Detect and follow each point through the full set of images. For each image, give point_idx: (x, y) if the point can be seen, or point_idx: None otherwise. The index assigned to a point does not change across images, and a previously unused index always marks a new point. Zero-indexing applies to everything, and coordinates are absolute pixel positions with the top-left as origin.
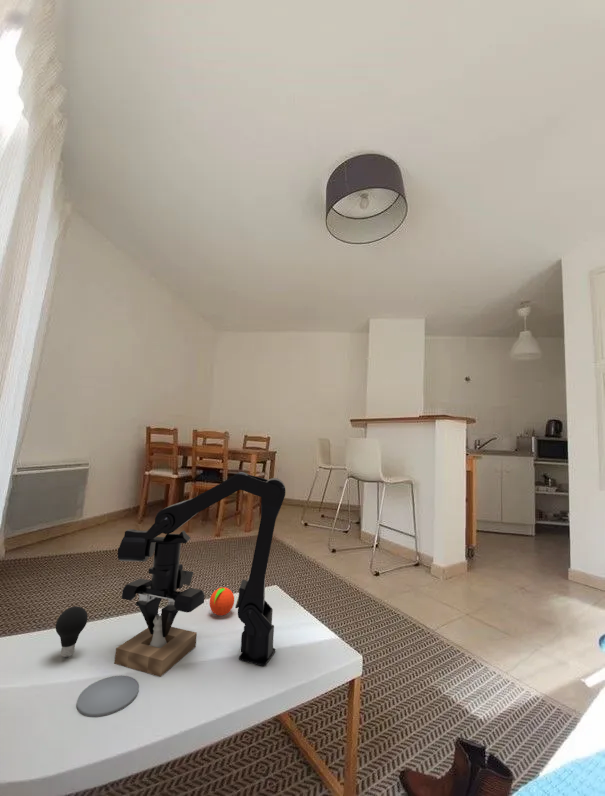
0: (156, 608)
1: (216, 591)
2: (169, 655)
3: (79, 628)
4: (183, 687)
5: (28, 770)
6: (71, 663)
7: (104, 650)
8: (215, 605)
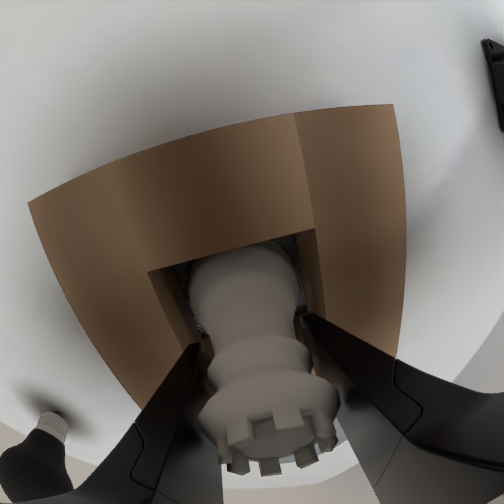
0: (177, 499)
1: None
2: (397, 342)
3: (66, 486)
4: (442, 315)
5: (325, 477)
6: (91, 423)
7: (64, 365)
8: None
